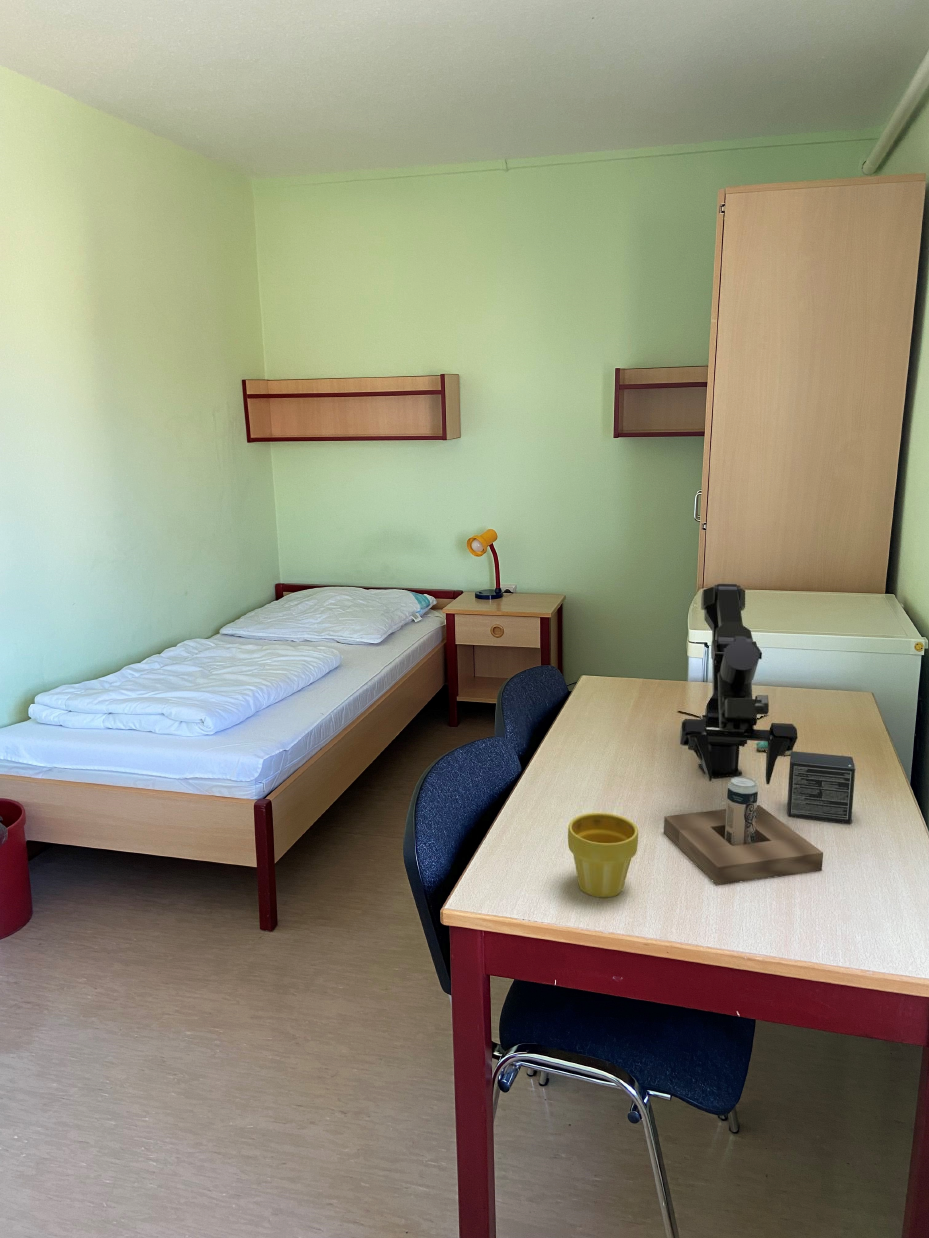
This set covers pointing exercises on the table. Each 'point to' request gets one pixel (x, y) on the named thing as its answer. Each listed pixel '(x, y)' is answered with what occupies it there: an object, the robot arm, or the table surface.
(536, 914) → the table surface
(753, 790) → the beer can
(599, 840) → the plant pot
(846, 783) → the small box
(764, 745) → the whale figurine
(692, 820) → the holder block
